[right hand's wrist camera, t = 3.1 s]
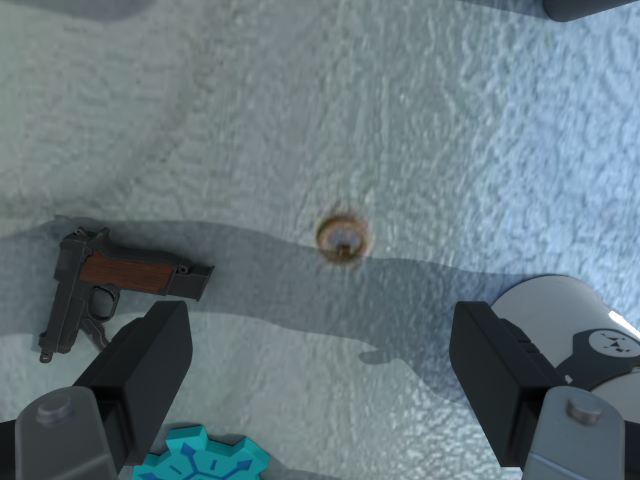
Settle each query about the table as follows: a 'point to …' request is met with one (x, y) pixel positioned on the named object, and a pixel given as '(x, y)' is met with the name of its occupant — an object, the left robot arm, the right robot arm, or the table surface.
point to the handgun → (109, 284)
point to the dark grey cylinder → (579, 8)
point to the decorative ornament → (202, 459)
